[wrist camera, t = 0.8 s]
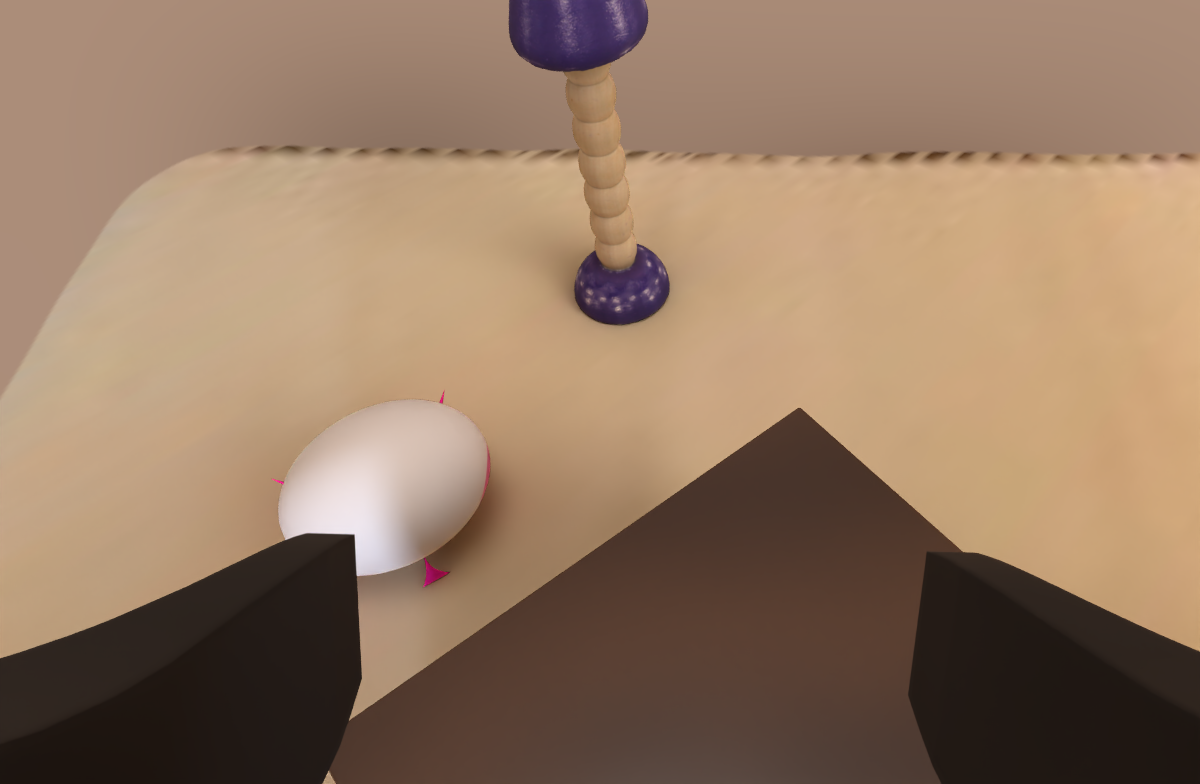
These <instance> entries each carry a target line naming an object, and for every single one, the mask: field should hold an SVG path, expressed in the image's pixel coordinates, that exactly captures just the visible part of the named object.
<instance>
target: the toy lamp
mask: <svg viewBox="0 0 1200 784" xmlns="http://www.w3.org/2000/svg"><path fill="white" fill-rule="evenodd" d="M647 24H648V10H647V5H646V2H645V0H509V34H510V39H511V42H512V45H513V47H514V49H515V50H516V52H517V53H518V54H519V56H521V57H522V58H523V59H525V60H526V61H528V62H529V63H531V64H532V65H534V66H536V67H539V68H542V69H547V70H551V71H563V72H564V74H565V75H566V77H567V78H568V79H567V83H566V98H567V102H568V105H569V107H570V109H571V111H572V112H573V114H574V116H573V122H572V127H573V135H574V138H575V141H576V143H577V145H578V146H579V148H580V150H579V156H578V162H579V168H580V171H581V174H582V176H583V177H584V179H585V184H584V195H585V200H586V202H587V204H588V206H589V208H590V209H591V211H590V225H591V229H592V231H593V233H594V234H595V236H596V238H595V251H593V252H592V253H591V254H590V255H589V256H587V258H586V259H585V260H584V261H583V263H582V264H581V266H580V267H579V270H578V273H577V276H576V280H575V299H576V301H577V303H578V305H579V307H580V309H581V310H582V311H583V312H584V313H585V314H587V315H588V316H590V317H591V318H593V319H595V320H597V321H600V322H603V323H607V324H629V323H632V322H637V321H640V320H642V319H644V318H647V317H649V316H650V315H651V314H653V313H655V312H656V311H657V310H658V309H659V308H660V307H661V306H662V305H663V304H664V302H665V301H666V298H667V297H668V294H669V278H668V274H667V272H666V269H665V267H664V265H663V263H662V262H661V261H660V259H659V258H658V257H657V256H656V255H655V254H654V253H653V252H652V251H650V250H649V249H647V248H646V247H644V246H642V245H639V244H636V239H635V237H634V234H633V233H632V229H633V215H632V212H631V209H630V207H629V205H628V202H629V197H630V191H629V185H628V182H627V180H626V178H625V176H624V173H625V168H626V160H625V154H624V151H623V148H622V147H621V145H620V143H619V140H620V136H621V125H620V120H619V117H618V115H617V113H616V111H615V109H614V107H615V102H616V87H615V84H614V80H613V78H612V76H611V75H610V73H609V69H610V66H611V62H613V61H615V60H617V59H619V58H620V57H622V56H623V55H625V54H626V53H628V52H630V51H631V50H632V49H633V48H634V47H635V46H636V45H637V44H638V43H639V41H640V40H641V39H642V37H643V35H644V34H645V31H646V27H647Z"/></svg>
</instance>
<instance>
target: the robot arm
mask: <svg viewBox="0 0 1200 784" xmlns="http://www.w3.org/2000/svg"><path fill="white" fill-rule="evenodd" d="M361 679H362V672H361V652H360V632H359V612H358V592H357V571H356V551H355V534H325V533H305V534H301V535H298V536H295V537H292V538H289V539H287V540H284V541H282V542H280V543H277V544H275V545H273V546H271V547H268V548H266V549H264V550H262V551H260V552H258V553H256V554H254V555H252V556H249V557H247V558H245V559H243V560H241V561H239V562H237V563H235V564H233V565H231V566H229V567H227V568H224V569H222V570H220V571H218V572H216V573H214V574H212V575H210V576H208V577H206V578H204V579H202V580H200V581H197V582H195V583H193V584H191V585H189V586H187V587H185V588H182V589H180V590H178V591H176V592H173V593H171V594H169V595H166V596H164V597H162V598H160V599H157V600H155V601H153V602H150V603H148V604H146V605H144V606H141V607H139V608H137V609H134V610H132V611H130V612H128V613H125V614H123V615H121V616H118V617H116V618H114V619H111V620H109V621H106V622H104V623H101V624H99V625H96V626H94V627H91V628H88V629H86V630H83V631H80V632H78V633H75V634H72V635H69V636H67V637H64V638H61V639H58V640H55V641H52V642H49V643H46V644H43V645H40V646H37V647H34V648H31V649H28V650H26V651H23V652H20V653H16V654H13V655H10V656H7V657H4V658H0V784H322V783H323V781H324V779H325V777H326V775H327V773H328V771H329V769H330V767H331V765H332V762H333V760H334V758H335V756H336V754H337V752H338V750H339V747H340V745H341V742H342V739H343V736H344V733H345V730H346V727H347V724H348V721H349V718H350V715H351V712H352V709H353V705H354V702H355V699H356V695H357V692H358V689H359V686H360V682H361ZM908 697H909V700H910V703H911V706H912V709H913V712H914V715H915V718H916V721H917V724H918V727H919V730H920V733H921V736H922V739H923V741H924V744H925V747H926V749H927V752H928V755H929V758H930V760H931V763H932V766H933V768H934V770H935V772H936V774H937V776H938V778H939V780H940V782H941V784H1200V652H1199V651H1197V650H1194V649H1192V648H1190V647H1187V646H1185V645H1183V644H1180V643H1178V642H1176V641H1173V640H1171V639H1169V638H1166V637H1164V636H1162V635H1159V634H1157V633H1155V632H1153V631H1150V630H1148V629H1146V628H1144V627H1142V626H1139V625H1137V624H1135V623H1133V622H1131V621H1128V620H1126V619H1124V618H1122V617H1120V616H1118V615H1116V614H1113V613H1111V612H1109V611H1107V610H1105V609H1103V608H1101V607H1099V606H1097V605H1094V604H1092V603H1090V602H1088V601H1086V600H1084V599H1082V598H1080V597H1078V596H1076V595H1074V594H1071V593H1069V592H1067V591H1065V590H1063V589H1061V588H1059V587H1057V586H1055V585H1053V584H1051V583H1048V582H1046V581H1044V580H1042V579H1040V578H1038V577H1036V576H1034V575H1032V574H1029V573H1027V572H1025V571H1023V570H1021V569H1018V568H1016V567H1014V566H1011V565H1009V564H1007V563H1004V562H1002V561H999V560H997V559H994V558H991V557H989V556H985V555H982V554H979V553H967V552H933V551H927V553H926V561H925V569H924V576H923V584H922V592H921V599H920V607H919V615H918V622H917V630H916V637H915V645H914V653H913V660H912V668H911V676H910V683H909V691H908Z"/></svg>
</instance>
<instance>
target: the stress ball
mask: <svg viewBox="0 0 1200 784" xmlns="http://www.w3.org/2000/svg"><path fill="white" fill-rule="evenodd" d="M443 397H444V392H443V395H442V397H441V400H440V402H439V403H438V402H434V401H429V400H419V399H404V400H394V401H388V402H383V403H379V404H375V405H372V406H369V407H366V408H363V409H361V410H358V411H356V412H354V413H351V414H349V415H347V416H346V417H344V418H342V419H340V420H338V421H337V422H335V423H334V424H332V425H331V426H329V427H328V428H326V429H325V430H324V431H323V432H321V433H320V434H319V435H318V436H316V437H315V438H314V439H313V440H312V441H311V442H310V443H309V444H308V445H307V446H306V447H305V448H304V450H303V451H302V452H301V453H300V454H299V456H298V457H297V458H296V460H295V461H294V463H293V464H292V466H291V468H290V469H289V471H288V473H287V475H286V478H285V480H284V482H282V481H278V480H275V481H277V482H279V483H281V484H283V485H282V489H281V492H280V497H279V505H278V515H279V523H280V527H281V531H282V533H283V535H284V538H285V540H287V539H289V538H292V537H295V536H298V535H301V534H305V533H325V534H355V551H356V571H357V576H365V575H374V574H380V573H385V572H389V571H393V570H396V569H399V568H403V567H405V566H408V565H410V564H412V563H415V562H417V561H419V560H421V559H423V558H424V560H425V564H426V580H425V584H424V586H423V587H425V586H426V585H428V584H430V583H432V582H433V581H435V580H437V579H439V578H441V577H442V576H444V575H446V574H448V573H449V572H444V571H440V570H437V569H435V568H434V567H432V566H431V565H430V564H429V563H428V562H427V560H426V558H425V557H427V556H428V555H430V554H431V553H433V552H435V551H436V550H438V549H439V548H440V547H442V546H443V545H445V544H446V543H447V542H448V541H449V540H451V539H452V538H453V537H454V536H455V535H456V534H457V533H458V532H459V531H460V530H461V529H462V528H463V527H464V526H465V525H466V523H467V522H468V521H469V520H470V518H471V517H472V516H473V514H474V513H475V511H476V510H477V508H478V506H479V504H480V502H481V500H482V498H483V496H484V494H485V491H486V488H487V485H488V480H489V474H490V456H489V450H488V446H487V443H486V441H485V438H484V436H483V435H482V433H481V431H480V430H479V428H478V427H477V426H476V425H475V424H474V422H473V421H472V420H471V419H469V418H468V417H467V416H466V415H465V414H463V413H461V412H460V411H458V410H456V409H454V408H452V407H450V406H448V405H445V404H443ZM273 480H274V479H273Z"/></svg>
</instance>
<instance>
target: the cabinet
mask: <svg viewBox="0 0 1200 784" xmlns="http://www.w3.org/2000/svg"><path fill="white" fill-rule="evenodd" d="M927 551H933V552H962V551H961V550H960V549H959V548H958V547H957V546H956V545H954V544H953V543H952V542H951V541H950V540H949V539H948V538H947V537H945V536H944V535H943V534H942V533H941V532H940V531H939V530H938V529H936V528H935V527H934V526H933V525H932V524H931V523H930V522H929V521H927V520H926V519H925V518H924V517H923V516H922V515H921V514H920V513H918V512H917V511H916V510H915V509H914V508H913V507H912V506H910V505H909V504H908V503H907V502H906V501H905V500H904V499H903V498H901V497H900V496H899V495H898V494H897V493H896V492H895V491H894V490H892V489H891V488H890V487H889V486H888V485H887V484H886V483H885V482H883V481H882V480H881V479H880V478H879V477H878V476H877V475H875V474H874V473H873V472H872V471H871V470H870V469H869V468H868V467H866V466H865V465H864V464H863V463H862V462H861V461H860V460H859V459H857V458H856V457H855V456H854V455H853V454H852V453H851V452H850V451H848V450H847V449H846V448H845V447H844V446H843V445H842V444H841V443H839V442H838V441H837V440H836V439H835V438H834V437H833V436H831V435H830V434H829V433H828V432H827V431H826V430H825V429H824V428H822V427H821V426H820V425H819V424H818V423H817V422H816V421H815V420H813V419H812V418H811V417H810V416H809V415H808V414H807V413H806V412H804V411H803V410H802V409H801V408H798V409H796V410H795V411H793V412H792V413H790V414H789V415H787V416H786V417H785V418H783V419H782V420H780V421H779V422H777V423H776V424H775V425H773V426H772V427H770V428H769V429H767V430H766V431H765V432H763V433H762V434H760V435H759V436H757V437H756V438H754V439H753V440H752V441H750V442H749V443H747V444H746V445H744V446H743V447H742V448H740V449H739V450H737V451H736V452H734V453H733V454H731V455H730V456H729V457H727V458H726V459H724V460H723V461H721V462H720V463H719V464H717V465H716V466H714V467H713V468H711V469H710V470H709V471H707V472H706V473H704V474H703V475H701V476H700V477H698V478H697V479H696V480H694V481H693V482H691V483H690V484H688V485H687V486H686V487H684V488H683V489H681V490H680V491H678V492H677V493H675V494H674V495H673V496H671V497H670V498H668V499H667V500H665V501H664V502H663V503H661V504H660V505H658V506H657V507H655V508H654V509H653V510H651V511H650V512H648V513H647V514H645V515H644V516H642V517H641V518H640V519H638V520H637V521H635V522H634V523H632V524H631V525H630V526H628V527H627V528H625V529H624V530H622V531H621V532H620V533H618V534H617V535H615V536H614V537H612V538H611V539H609V540H608V541H607V542H605V543H604V544H602V545H601V546H599V547H598V548H597V549H595V550H594V551H592V552H591V553H589V554H588V555H586V556H585V557H584V558H582V559H581V560H579V561H578V562H576V563H575V564H574V565H572V566H571V567H569V568H568V569H566V570H565V571H564V572H562V573H561V574H559V575H558V576H556V577H555V578H553V579H552V580H551V581H549V582H548V583H546V584H545V585H543V586H542V587H541V588H539V589H538V590H536V591H535V592H533V593H532V594H531V595H529V596H528V597H526V598H525V599H523V600H522V601H520V602H519V603H518V604H516V605H515V606H513V607H512V608H510V609H509V610H508V611H506V612H505V613H503V614H502V615H500V616H499V617H497V618H496V619H495V620H493V621H492V622H490V623H489V624H487V625H486V626H485V627H483V628H482V629H480V630H479V631H477V632H476V633H475V634H473V635H472V636H470V637H469V638H467V639H466V640H464V641H463V642H462V643H460V644H459V645H457V646H456V647H454V648H453V649H452V650H450V651H449V652H447V653H446V654H444V655H443V656H442V657H440V658H439V659H437V660H436V661H434V662H433V663H431V664H430V665H429V666H427V667H426V668H424V669H423V670H421V671H420V672H419V673H417V674H416V675H414V676H413V677H411V678H410V679H408V680H407V681H406V682H404V683H403V684H401V685H400V686H398V687H397V688H396V689H394V690H393V691H391V692H390V693H388V694H387V695H386V696H384V697H383V698H381V699H380V700H378V701H377V702H375V703H374V704H373V705H371V706H370V707H368V708H367V709H365V710H364V711H363V712H361V713H360V714H358V715H357V716H355V717H354V718H352V719H351V720H350V721H348V724H347V727H346V730H345V733H344V736H343V739H342V742H341V745H340V747H339V750H338V752H337V754H336V756H335V758H334V760H333V762H332V765H331V767H330V769H329V771H330V773H331V775H332V777H333V779H334V781H335V783H336V784H941V782H940V780H939V778H938V776H937V774H936V772H935V770H934V768H933V766H932V763H931V760H930V758H929V755H928V752H927V749H926V747H925V744H924V741H923V739H922V736H921V733H920V730H919V727H918V724H917V721H916V718H915V715H914V712H913V709H912V706H911V703H910V700H909V697H908V691H909V683H910V676H911V668H912V660H913V653H914V645H915V637H916V630H917V622H918V615H919V607H920V599H921V592H922V584H923V576H924V569H925V561H926V553H927Z"/></svg>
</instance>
